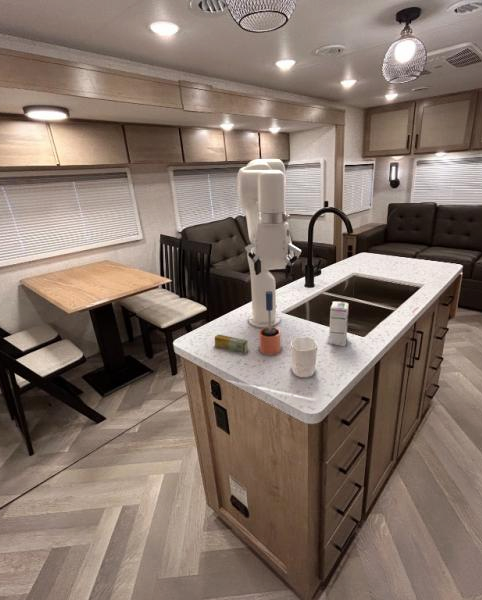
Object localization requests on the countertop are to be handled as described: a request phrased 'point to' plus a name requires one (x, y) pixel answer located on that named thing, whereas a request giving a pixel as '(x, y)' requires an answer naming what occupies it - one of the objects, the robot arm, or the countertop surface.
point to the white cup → (303, 356)
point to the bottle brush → (269, 313)
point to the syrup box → (338, 323)
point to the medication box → (231, 343)
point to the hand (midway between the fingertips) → (273, 275)
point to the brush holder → (270, 342)
